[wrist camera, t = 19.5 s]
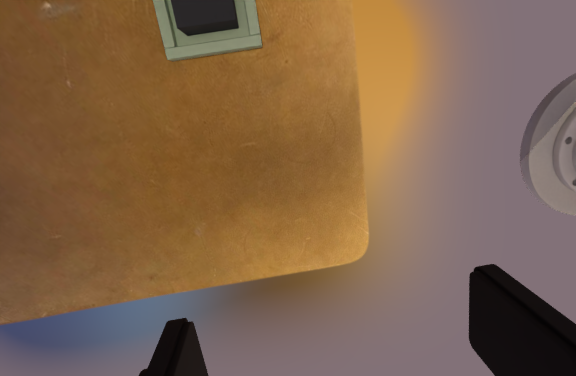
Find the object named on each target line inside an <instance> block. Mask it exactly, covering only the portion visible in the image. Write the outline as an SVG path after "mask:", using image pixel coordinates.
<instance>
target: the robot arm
mask: <svg viewBox="0 0 576 376" xmlns="http://www.w3.org/2000/svg"><path fill="white" fill-rule="evenodd" d="M553 165H554V169H555V172H556V175H557V176H558V178H559V180H560V181H561V182H562V183H563V184H564V185H565V186H566V187H567V188H569V189H570V190H572V191H574V192H576V108H575V109H574V111H573V112H572V113H571V114H570V115H569V116H568V117H567V119H566V120H565V122H564V123H563V125H562V126H561V128H560V130H559V133H558V135H557V137H556V141H555V144H554V149H553ZM469 286H470V287H469V291H470V292H469V341H470V344H471V346H472V348H473V349H474V350H475V352H476V353H477V354H478V355H479V357H480V358H481V359H482V360H483V362H484V363H485V364H486V365H487V366H488V368H489V369H490V370H491V371H492V373H493V374H494V375H495V376H576V324H575V323H573V322H572V321H571V320H569V319H568V318H567V317H565V316H564V315H563V314H561V313H560V312H558V311H557V310H556V309H554V308H553V307H552V306H550V305H549V304H548V303H546V302H545V301H544V300H542V299H541V298H540V297H538V296H537V295H536V294H534V293H533V292H531V291H530V290H529V289H528V288H526V287H525V286H524V285H522V284H521V283H520V282H518V281H517V280H515V279H514V278H513V277H511V276H510V275H509V274H507V273H506V272H505V271H503V270H502V269H501V268H499V267H498V266H496V265H494V264H490V265H484V266H479V267H475V269H474V272H472V273H470V283H469ZM139 376H208V373H207V369H206V366H205V362H204V358H203V355H202V351H201V348H200V344H199V341H198V337H197V334H196V330H195V326H194V323H193V322H188V320H187V319H186V318H182V319H176V320H170V321H168V322H167V323H166V325H165V328H164V330H163V332H162V335H161V337H160V340H159V342H158V344H157V347H156V349H155V352H154V354H153V357H152V359H151V361H150V364H149V366H148V369H144V370H142V371H141V372H140V374H139Z"/></svg>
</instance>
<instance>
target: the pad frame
mask: <svg viewBox="0 0 576 376" xmlns="http://www.w3.org/2000/svg"><path fill="white" fill-rule="evenodd" d="M234 1H235V7H236V13H237V19H238V24H239V28H238V29H231V30H225V31H218V32H211V33H205V34H198V35H191V36H187V35H186V34H184V33H183V32H181V31H180V30H179V29H177V26H176V22H175V17H174V13H173V8H172V4H171V0H153V3H154V7H155V11H156V15H157V19H158V24H159V28H160V32H161V36H162V40H163V44H164V48H165V53H166V57H167V60H170V61H178V60H184V59H191V58H198V57H204V56H211V55H217V54H224V53H230V52H237V51H243V50H250V49H256V48H262V40H261V35H260V28H259V22H258V15H257V9H256V3H255V0H234Z"/></svg>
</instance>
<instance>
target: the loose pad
mask: <svg viewBox="0 0 576 376" xmlns="http://www.w3.org/2000/svg"><path fill="white" fill-rule="evenodd" d="M171 4H172V8H173V13H174V17H175V22H176V26H177V29H179V30H180V31H181V32H183V33H184V34H186V35H187V36H191V35H198V34H205V33H211V32H218V31H225V30H231V29H238V28H239V24H238V19H237V13H236V7H235V1H234V0H171Z"/></svg>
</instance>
